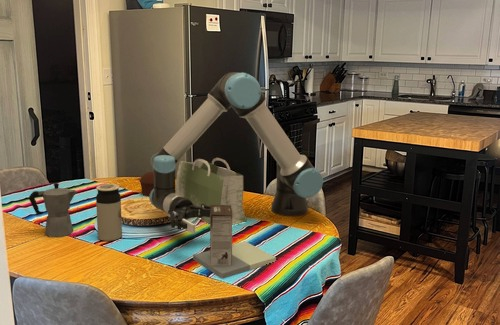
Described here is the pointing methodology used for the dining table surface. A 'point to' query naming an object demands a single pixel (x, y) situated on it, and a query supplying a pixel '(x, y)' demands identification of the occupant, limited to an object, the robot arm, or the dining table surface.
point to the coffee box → (221, 235)
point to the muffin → (147, 183)
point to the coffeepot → (55, 210)
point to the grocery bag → (211, 186)
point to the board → (237, 260)
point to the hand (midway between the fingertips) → (213, 224)
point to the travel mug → (108, 212)
